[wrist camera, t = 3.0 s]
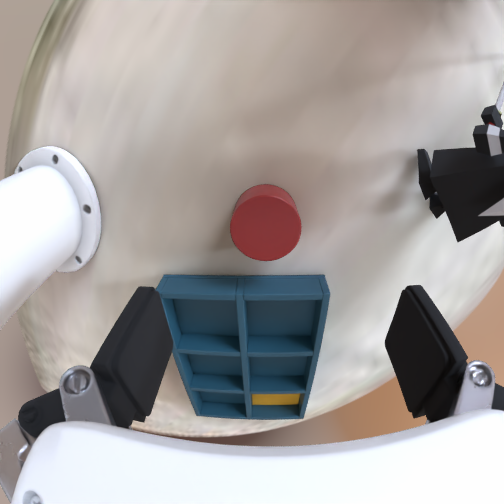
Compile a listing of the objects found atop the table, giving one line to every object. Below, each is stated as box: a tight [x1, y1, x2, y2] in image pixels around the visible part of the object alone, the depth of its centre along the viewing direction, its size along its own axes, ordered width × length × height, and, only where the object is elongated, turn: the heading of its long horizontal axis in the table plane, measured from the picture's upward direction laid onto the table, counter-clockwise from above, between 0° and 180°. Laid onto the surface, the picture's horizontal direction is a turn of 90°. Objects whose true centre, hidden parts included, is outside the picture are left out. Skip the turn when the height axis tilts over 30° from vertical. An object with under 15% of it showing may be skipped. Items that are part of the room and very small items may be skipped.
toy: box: [417, 82, 504, 242], centre depth 12 cm, size 8×20×15 cm
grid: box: [155, 275, 330, 420], centre depth 26 cm, size 14×20×3 cm
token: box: [230, 184, 301, 261], centre depth 19 cm, size 5×5×3 cm
